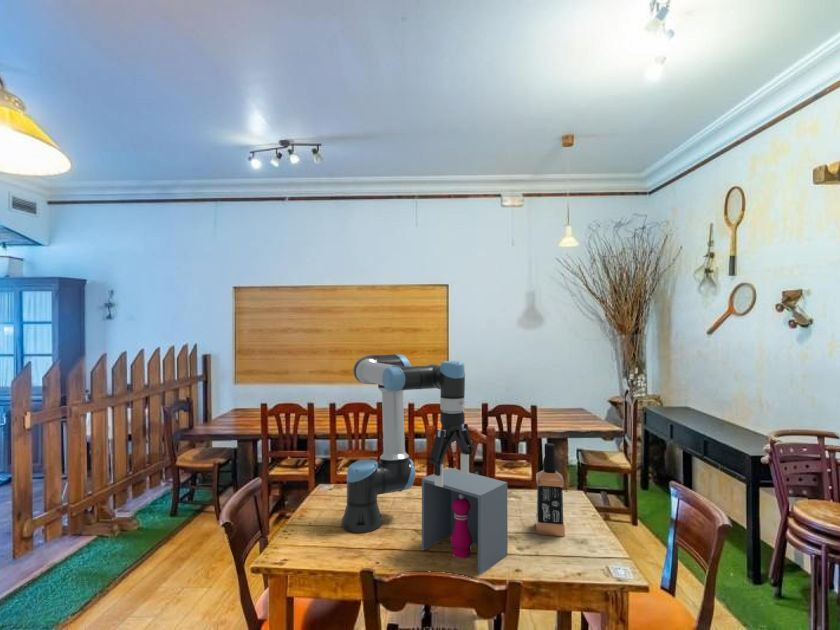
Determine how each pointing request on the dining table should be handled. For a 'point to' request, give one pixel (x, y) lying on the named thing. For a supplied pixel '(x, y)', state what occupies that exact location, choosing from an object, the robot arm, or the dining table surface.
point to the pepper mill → (461, 528)
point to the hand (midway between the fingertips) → (452, 480)
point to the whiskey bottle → (549, 496)
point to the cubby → (483, 514)
